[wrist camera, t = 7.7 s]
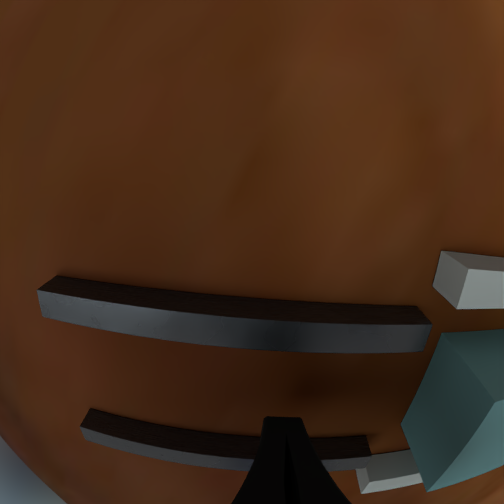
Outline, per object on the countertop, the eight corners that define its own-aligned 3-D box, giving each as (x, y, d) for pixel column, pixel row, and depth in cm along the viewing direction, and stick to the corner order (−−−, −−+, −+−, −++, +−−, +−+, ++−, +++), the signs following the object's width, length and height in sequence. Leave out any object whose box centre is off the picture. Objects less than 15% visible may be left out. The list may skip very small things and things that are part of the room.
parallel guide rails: (359, 448, 14) (364, 468, 13) (95, 422, 14) (85, 439, 13) (416, 306, 11) (432, 324, 10) (56, 275, 11) (36, 289, 10)
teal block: (505, 399, 14) (538, 447, 9) (399, 421, 14) (426, 492, 9) (544, 322, 12) (591, 366, 7) (439, 330, 12) (494, 402, 7)
